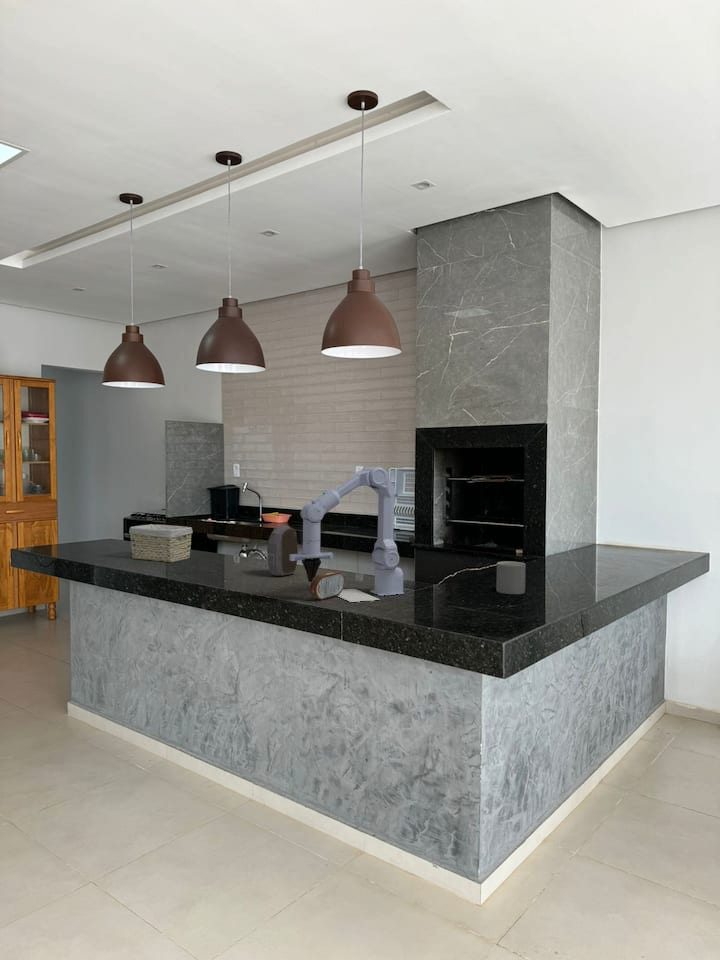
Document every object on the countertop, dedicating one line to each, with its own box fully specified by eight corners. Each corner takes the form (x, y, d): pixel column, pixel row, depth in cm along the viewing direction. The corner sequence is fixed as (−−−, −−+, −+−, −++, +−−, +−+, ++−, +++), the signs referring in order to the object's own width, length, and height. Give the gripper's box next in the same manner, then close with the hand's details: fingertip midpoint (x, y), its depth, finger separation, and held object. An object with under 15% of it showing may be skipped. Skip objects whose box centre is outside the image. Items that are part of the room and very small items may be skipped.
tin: (339, 592, 241) (339, 568, 240) (346, 593, 239) (346, 569, 238) (308, 600, 230) (309, 575, 229) (315, 602, 228) (316, 576, 227)
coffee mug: (518, 595, 243) (519, 566, 243) (491, 592, 249) (492, 563, 249) (532, 589, 255) (533, 562, 254) (506, 586, 260) (507, 559, 260)
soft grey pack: (278, 578, 270) (278, 526, 270) (260, 576, 274) (261, 525, 274) (300, 573, 283) (301, 523, 283) (283, 571, 287) (284, 522, 287)
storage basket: (194, 558, 320) (194, 526, 320) (171, 563, 305) (171, 529, 305) (151, 555, 329) (151, 523, 329) (127, 559, 315) (127, 526, 314)
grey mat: (354, 589, 250) (354, 588, 250) (379, 600, 231) (380, 599, 231) (327, 591, 245) (327, 590, 245) (350, 603, 227) (350, 601, 227)
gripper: (327, 538, 238) (326, 578, 238) (286, 539, 232) (286, 581, 232) (335, 540, 232) (335, 581, 232) (293, 542, 225) (293, 584, 226)
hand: (311, 581), depth 232 cm, fingers closed
